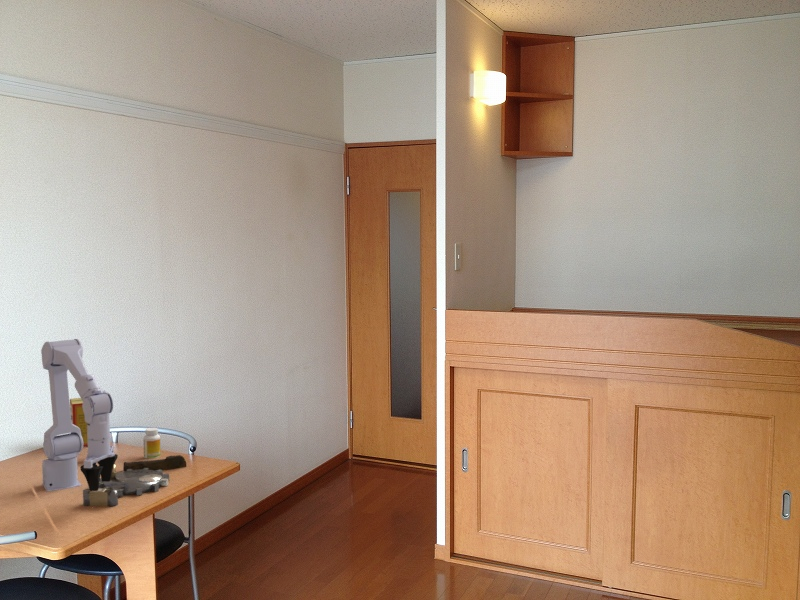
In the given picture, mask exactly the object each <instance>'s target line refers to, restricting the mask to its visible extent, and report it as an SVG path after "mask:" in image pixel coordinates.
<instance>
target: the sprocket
mask: <svg viewBox="0 0 800 600" xmlns="http://www.w3.org/2000/svg"><path fill="white" fill-rule="evenodd" d="M116 465H117V464H116V463H115V464H114V467H113V471H112V475H111V480H110V481H109V482H106V481H102V479H101V477H100V482H99V488H103V489H117V490H118V498H121V497H122V498H123V497H124V496H130V495H131V496H133V495H136V496H142V495H143V494H146V493H149V492H158V491H159V490H160V488H161V487H167V486H168V485H169V481H170V473H168V472H166V473H163V472H164V470H160V469H159V470H149V468H144V469H138V470H132V469H127V471H120V472H119V471H118V472H117V466H116Z"/></svg>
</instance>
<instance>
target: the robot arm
mask: <svg viewBox="0 0 800 600" xmlns="http://www.w3.org/2000/svg"><path fill="white" fill-rule="evenodd" d="M40 352H41V362H42V363H41V364H42V368H43V370H47V372H48V380H49V390H50V402H51V413H52V423H53V424H52V425H51V426H50V427H49V428H48V429H47V430H46V431H45V432H44V434H43V443H42V449H43V452H44V455H45V457H47V459H46V458H45V459H43V460H42V463H41V464H42V465H41V469H42V473H41V475H42V486H43V487H44V489H45V491H46V492H53V491H58V490H65V489H70V488H76V487H81V486H82V484H81V482H80V481H79V480H78V479H79V477H78V473H79V471H78V457H79V456H80V453H81V452H82V450H83V449H84V447H83V438H82V436H81V431H80V428H79V427H77V426H76V425H74V424H72V423H71V413H70V393H69V381H68V380H69V379H68V372H69V373H70V374H71V375H72V377H73V378H74V379H75V382H74V388H75V390H76V391H77V393H78V395H79V398H81V399H82V401H83V405H82V407H83V412H84V415H85V422H87V437H88V446H87V449H88V452H87V454H86V457H85V459H84V460H83V464H82V465H81V466H80V471H81V473H82V474H83V476H84V478H85V480H86V482H87V485H88V486H87V487H88V488H89V489H90V491H98V489H99V483H100V478H101V479H102V481H106V482H109V481H110V480H111V475H112V471H113V467H114V464H116V461H117V459H118V456H119V455H118V454H117V453H116V454H115V446H114V445H111V431H110V430H111V429H110V426H111V425H110V414H112V412H113V409H114V401H113V397H112V396H111V394H110V393H109V392H107V391H106V390H103V389H102V388H101V385H100V384H99V383H98V380H97V379H96V377H95V376H94V375H93V374H89V373H88V370H87V368H86V365H85V363H84V361H83V355H84V348H83V344H82V342H81V341H80V339H79V338H74V339H67V340H56V341H55V340H54V341H45V342H44V343H43V345H42V347H41V351H40ZM97 464H98V465H97Z"/></svg>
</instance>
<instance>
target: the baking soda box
mask: <svg viewBox="0 0 800 600" xmlns="http://www.w3.org/2000/svg"><path fill="white" fill-rule="evenodd" d="M69 402H70V413H71V423H72V424H74V425H76V426H77V427H79V428H80V431H81V436H82V438H83V448H85V447H87V448H88V437H87V422H85V415H84V412H83V407H82V405H83V401H82V399H81V397H75V398H69Z"/></svg>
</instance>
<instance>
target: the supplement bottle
mask: <svg viewBox="0 0 800 600" xmlns="http://www.w3.org/2000/svg"><path fill="white" fill-rule="evenodd" d="M158 433H159V428H157V427H149V428H145V435H144V436H143V438H142V439H143V440H142V441H143V458H144V459H154V458H155V459H156V458H159V457H161V456H162V455H161V436H160V435H159V434H158Z"/></svg>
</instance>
